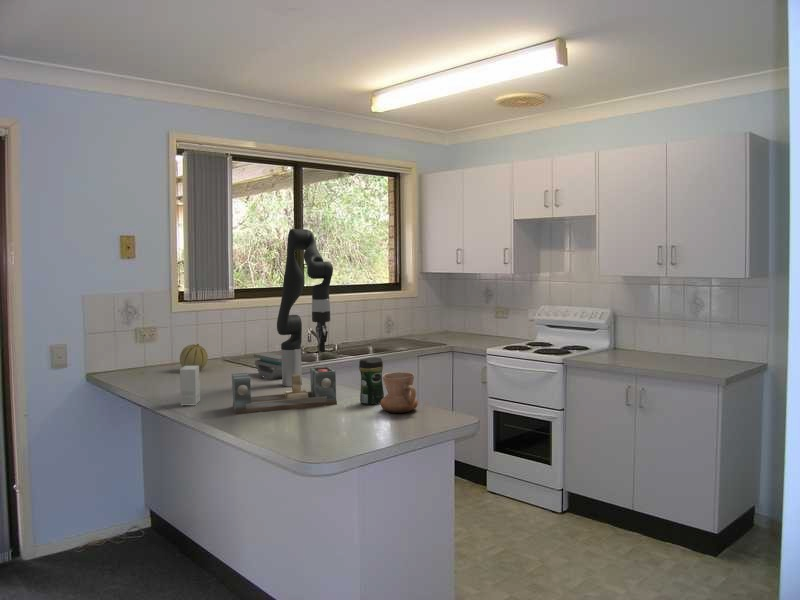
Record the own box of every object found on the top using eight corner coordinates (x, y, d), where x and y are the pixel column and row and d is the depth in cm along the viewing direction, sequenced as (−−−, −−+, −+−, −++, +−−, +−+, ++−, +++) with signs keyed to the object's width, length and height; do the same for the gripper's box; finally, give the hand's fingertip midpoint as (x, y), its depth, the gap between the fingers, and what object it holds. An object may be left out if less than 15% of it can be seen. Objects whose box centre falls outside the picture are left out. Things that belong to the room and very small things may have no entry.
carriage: (285, 398, 263) (284, 374, 263) (304, 396, 266) (303, 372, 265) (288, 402, 256) (287, 377, 255) (308, 400, 258) (307, 376, 258)
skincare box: (185, 402, 269) (183, 365, 268) (201, 401, 270) (199, 365, 269) (180, 406, 261) (178, 369, 260) (196, 406, 262) (195, 368, 261)
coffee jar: (375, 399, 267) (374, 355, 266) (387, 402, 261) (386, 357, 260) (356, 403, 261) (355, 358, 260) (367, 406, 255) (366, 360, 254)
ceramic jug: (371, 409, 249) (370, 373, 248) (401, 403, 258) (400, 369, 256) (398, 419, 235) (397, 381, 233) (429, 412, 243) (428, 376, 242)
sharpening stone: (254, 374, 332) (253, 354, 331) (267, 372, 337) (267, 352, 337) (278, 381, 313) (278, 359, 313) (292, 378, 318) (292, 357, 318)
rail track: (232, 406, 259) (231, 373, 259) (329, 397, 272) (328, 366, 272) (235, 414, 246) (234, 379, 245) (336, 404, 259) (336, 371, 258)
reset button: (317, 379, 265) (316, 369, 265) (326, 378, 266) (326, 368, 266) (319, 380, 261) (318, 371, 261) (328, 379, 263) (328, 370, 262)
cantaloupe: (183, 369, 353) (182, 342, 352) (210, 368, 355) (209, 341, 354) (177, 374, 339) (175, 346, 338) (205, 373, 340) (204, 345, 339)
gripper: (308, 309, 267) (309, 350, 268) (315, 311, 254) (316, 354, 256) (326, 308, 269) (327, 349, 271) (333, 311, 257) (334, 353, 258)
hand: (322, 351), depth 263 cm, fingers closed
